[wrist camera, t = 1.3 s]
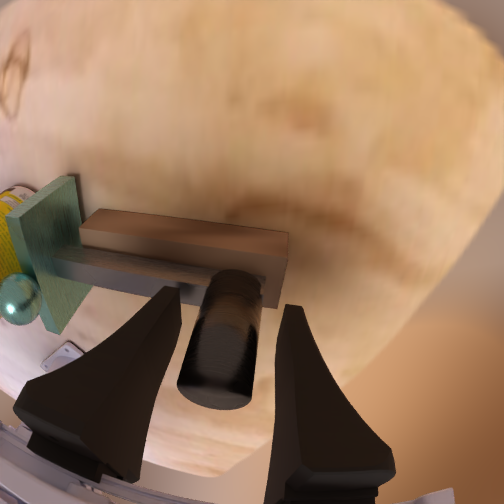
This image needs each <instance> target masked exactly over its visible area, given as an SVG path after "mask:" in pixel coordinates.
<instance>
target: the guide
mask: <svg viewBox="0 0 504 504" xmlns="http://www.w3.org/2000/svg"><path fill="white" fill-rule="evenodd" d="M79 232H80V237H81V242H82V247H83V248H89V249H95V250H101V251H107V252H112V253H118V254H124V255H130V256H136V257H143V258H149V259H155V260H161V261H167V262H174V263H180V264H187V265H193V266H200V267H206V268H213V269H220V270H226V269H238V270H242V271H245V272H248V273H250V274H254V275H261V276H266V281H265V291H264V298H263V304H262V307H266V308H274V309H277V308H278V303H279V298H280V294H281V289H282V285H283V280H284V275H285V270H286V266H287V261H288V233H285V232H278V231H271V230H264V229H257V228H250V227H243V226H235V225H228V224H221V223H213V222H205V221H198V220H190V219H182V218H174V217H166V216H158V215H150V214H141V213H133V212H124V211H115V210H106V209H98V210H97V211H96V212H95V213H94V214H93V215H92V216H90V217H89V218H88V219H87V220H86V221H85V222H84V223H83V224H82V225H81V226H80V227H79Z"/></svg>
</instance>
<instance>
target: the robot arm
mask: <svg viewBox="0 0 504 504" xmlns="http://www.w3.org/2000/svg"><path fill="white" fill-rule="evenodd" d="M181 325H182V319H181V305H180V288H176V287H171V286H163V287H162V288H161V289H160V290H159V291H158V292H157V293H156V294H155V295H154V296H153V297H152V298H151V299H150V300H149V301H148V302H147V303H146V304H145V305H144V306H143V307H142V308H141V309H140V310H139V311H138V312H137V313H136V314H135V315H134V316H133V317H132V318H131V319H130V320H128V321H127V322H126V323H125V324H124V325H123V326H122V327H120V328H119V329H118V330H117V331H116V332H115V333H113V334H112V335H111V336H109V337H108V338H107V339H106V340H104V341H103V342H102V343H100V344H99V345H97V346H96V347H95V348H93V349H91V350H90V351H88V352H87V353H85V354H84V353H82V352H81V351H80V350H79V349H78V348H76V347H75V346H74V345H73V344H71V343H69V342H66V343H65V344H64V345H63V346H61V347H60V348H59V349H58V350H56V351H55V352H54V353H53V354H52V355H51V356H49V357H48V358H47V359H46V360H45V361H43V362H42V363H41V365H40V366H41V368H42V369H43V370H45V371H46V372H47V373H46V374H45V375H42V376H40V377H37V378H35V379H32V380H29V381H27V382H26V384H25V386H24V387H23V389H22V391H21V393H20V394H19V396H18V398H17V400H16V402H15V404H14V406H13V411H14V412H15V414H16V415H17V416H18V418H19V419H20V420H21V421H22V422H21V424H20V426H18V427H17V428H16V430H15V428H13V427H12V426H8V427H7V426H6V425H4V424H3V423H2V421H1V420H0V504H118V503H116V502H114V501H112V500H111V499H109V498H108V497H105V496H103V495H102V491H103V492H106V493H108V494H111V495H113V496H116V497H119V498H122V499H125V500H128V501H131V502H134V503H137V504H214V503H208V502H203V501H197V500H192V499H188V498H183V497H178V496H174V495H170V494H166V493H162V492H158V491H154V490H151V489H147V488H144V487H140V486H137V485H134V484H132V483H135V482H137V481H138V480H139V479H140V470H141V465H142V458H143V452H144V447H145V442H146V437H147V432H148V428H149V423H150V419H151V415H152V411H153V407H154V403H155V399H156V396H157V393H158V390H159V388H160V385H161V382H162V380H163V377H164V375H165V372H166V370H167V367H168V365H169V362H170V360H171V357H172V355H173V352H174V350H175V347H176V344H177V340H178V337H179V333H180V329H181ZM395 474H396V470H395V462H394V457H393V454H392V450H391V448H390V447H389V446H388V445H387V444H386V443H385V442H384V441H382V440H381V439H380V438H379V437H378V436H377V434H376V433H374V431H373V430H372V429H371V428H370V427H369V426H368V425H367V424H366V423H365V421H364V420H363V419H362V418H361V417H360V415H359V414H358V413H357V411H356V410H355V409H354V408H353V406H352V405H351V404H350V402H349V401H348V400H347V398H346V397H345V395H344V394H343V392H342V391H341V389H340V388H339V386H338V385H337V383H336V381H335V380H334V378H333V376H332V375H331V373H330V371H329V369H328V367H327V365H326V363H325V362H324V360H323V358H322V356H321V353H320V351H319V349H318V347H317V345H316V342H315V340H314V338H313V335H312V333H311V330H310V328H309V325H308V322H307V319H306V316H305V313H304V309H303V308H302V306H297V305H289V304H285V308H284V312H283V317H282V321H281V325H280V329H279V333H278V337H277V344H276V354H275V423H274V433H273V442H272V450H271V458H270V467H269V473H268V480H267V486H266V492H265V498H264V504H375V497H377V496H378V487H379V486H380V485H382V484H384V483H386V482H388V481H389V480H390V479H392V478H393V477H394V476H395ZM395 504H455V500H454V492H453V488H448V489H444V490H440V491H436V492H432V493H429V494H425V495H423V496H420V497H418V498H416V499H415V500H411V501H406V502H400V503H395Z"/></svg>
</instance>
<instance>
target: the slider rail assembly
mask: <svg viewBox="0 0 504 504" xmlns="http://www.w3.org/2000/svg"><path fill="white" fill-rule="evenodd" d="M5 219H6V222H7V226H8V230H9V233H10V236H11V240H12V243H13V246H14V249H15V253H16V256H17V259H18V261H19V264H20V267H21V270H22V273H21V272H14V273H11V274H8V275H7V276H5V277H4V278H3V279H2V280H1V281H0V314H1V315H2V317H3V318H4V319H5V320H6V321H8V322H9V323H11V324H14V325H18V326H22V325H27V324H29V323H31V322H32V321H34V320H35V319H36V317H37V316H38V314H39V315H40V317H41V319H42V321H43V323H44V326H45V328H46V330H47V331H50V332H53V333H56V334H59V335H60V334H61V333H62V331H63V330H64V328H65V327H66V325H67V324H68V322H69V321H70V319H71V317H72V316H73V314H74V313H75V311H76V310H77V308H78V307H79V306H80V304H81V303H82V301H83V300H84V298H85V297H86V295H87V294H88V292H89V291H90V290H91V288H92V287H93V285H94V286H98V287H103V288H107V289H112V290H117V291H121V292H126V293H131V294H136V295H141V296H146V297H151V298H152V297H153V296H154V295H155V294H156V293H157V292H158V291H159V290H160V289H161V288H162V287H163V286H171V287H176V288H180V303H184V304H189V305H195V306H201V307H200V310H199V313H198V316H197V319H196V322H195V326H194V329H193V332H192V335H191V338H190V341H189V345H188V348H187V351H186V354H185V357H184V361H183V364H182V367H181V370H180V374H179V377H178V380H177V388H178V390H179V391H180V393H181V394H182V395H183V396H184V397H186V398H187V399H188V400H190V401H192V402H194V403H196V404H198V405H201V406H204V407H207V408H211V409H217V410H233V409H238V408H242V407H244V406H246V405H247V404H248V403H249V402H250V401H251V399H252V390H253V382H254V374H255V365H256V357H257V348H258V339H259V330H260V321H261V312H262V304H263V298H264V291H265V281H266V276H261V275H254V274H250V273H248V272H245V271H242V270H238V269H226V270H220V269H213V268H206V267H200V266H193V265H187V264H180V263H174V262H167V261H161V260H155V259H149V258H143V257H136V256H130V255H124V254H118V253H112V252H107V251H101V250H95V249H89V248H83V247H82V242H81V237H80V232H79V227H80V226H81V225H82V222H81V216H80V210H79V204H78V197H77V190H76V183H75V177H73V176H60V177H58V178H57V179H55V180H54V181H52V182H51V183H49V184H48V185H46V186H45V187H43V188H42V189H41V190H39V191H38V192H36V193H35V194H33V195H32V196H31V197H29V198H28V199H27V200H25V201H24V202H22V203H21V204H20V205H18V206H17V207H16V208H15V209H13V210H12V211H11V212H9V213H8V214H7V215H5Z"/></svg>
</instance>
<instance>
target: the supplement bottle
mask: <svg viewBox="0 0 504 504" xmlns="http://www.w3.org/2000/svg"><path fill="white" fill-rule="evenodd" d="M33 194H35V193H34V192H33V191H31V190H30V189H28V188H25V187H21V186H13V187H10V188H8V189H6V190H5V191H3V192H2V193H0V281H1V280H2V279H3V278H4V277H5V276H7V275H8V274H11V273H14V272H21V273H22V270H21V267H20V264H19V261H18V259H17V256H16V253H15V249H14V246H13V243H12V240H11V236H10V233H9V230H8V226H7V222H6V219H5V215H7V214H8V213H9V212H11V211H12V210H13V209H15V208H16V207H17V206H18V205H20V204H21V203H22V202H24V201H25V200H27V199H28V198H29V197H31V196H32V195H33ZM1 317H2V315H1V314H0V318H1Z"/></svg>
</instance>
